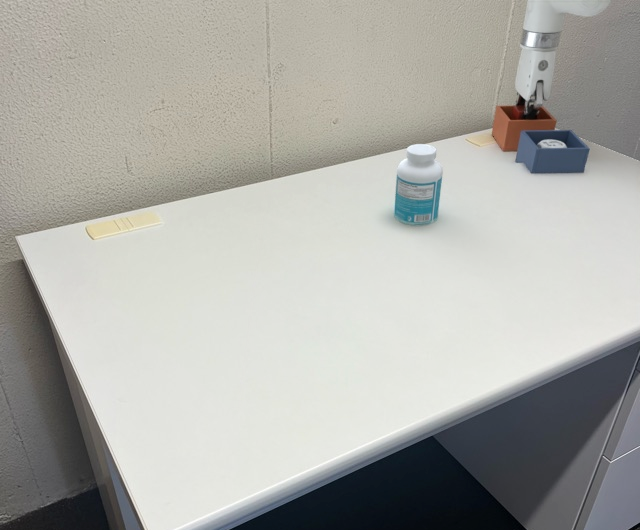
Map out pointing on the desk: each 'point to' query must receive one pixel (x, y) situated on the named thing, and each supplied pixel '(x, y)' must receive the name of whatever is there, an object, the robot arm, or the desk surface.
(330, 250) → the desk surface
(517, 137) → the terracotta bin
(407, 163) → the pill bottle
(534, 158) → the blue bin
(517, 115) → the red block
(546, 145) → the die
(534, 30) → the robot arm
